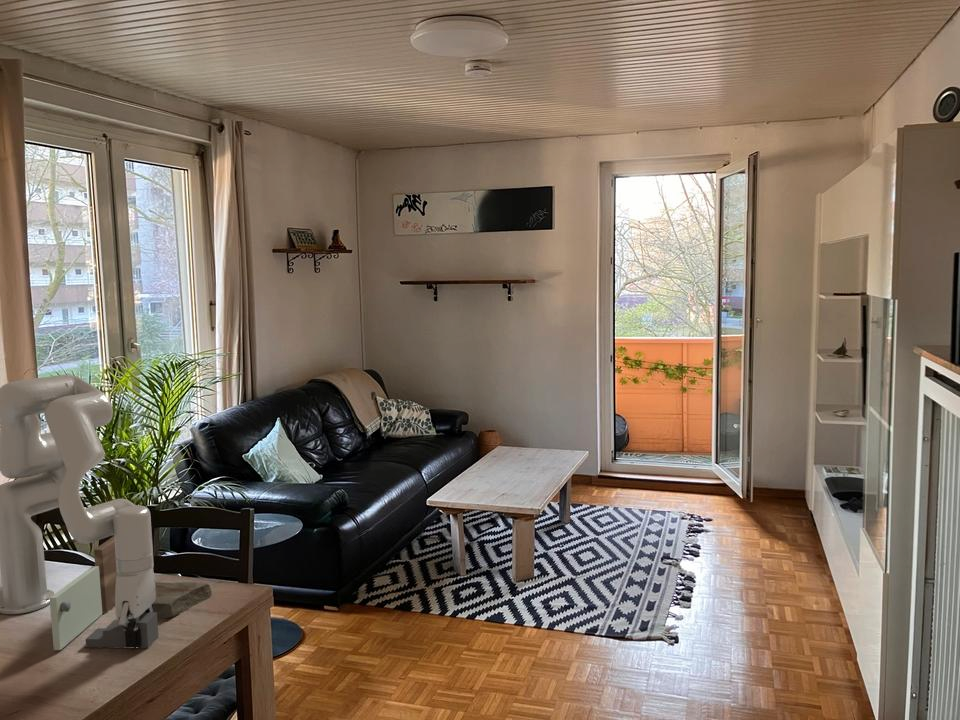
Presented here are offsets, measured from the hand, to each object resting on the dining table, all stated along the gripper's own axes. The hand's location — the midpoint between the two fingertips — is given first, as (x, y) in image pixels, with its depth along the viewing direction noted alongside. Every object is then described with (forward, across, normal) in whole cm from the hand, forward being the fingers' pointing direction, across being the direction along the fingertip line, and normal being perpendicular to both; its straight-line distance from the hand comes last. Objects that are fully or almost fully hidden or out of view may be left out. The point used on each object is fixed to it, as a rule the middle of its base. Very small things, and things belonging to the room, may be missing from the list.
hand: (139, 639), depth 173 cm
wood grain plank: (+1, -21, -16) cm, 27 cm away
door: (0, -4, -16) cm, 16 cm away
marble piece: (+1, -19, -2) cm, 19 cm away
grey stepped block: (+1, 0, -4) cm, 4 cm away
